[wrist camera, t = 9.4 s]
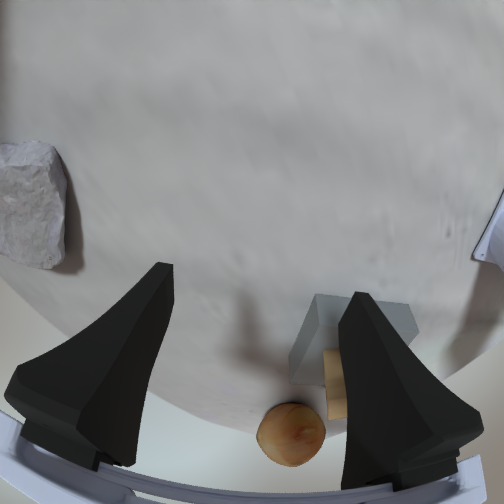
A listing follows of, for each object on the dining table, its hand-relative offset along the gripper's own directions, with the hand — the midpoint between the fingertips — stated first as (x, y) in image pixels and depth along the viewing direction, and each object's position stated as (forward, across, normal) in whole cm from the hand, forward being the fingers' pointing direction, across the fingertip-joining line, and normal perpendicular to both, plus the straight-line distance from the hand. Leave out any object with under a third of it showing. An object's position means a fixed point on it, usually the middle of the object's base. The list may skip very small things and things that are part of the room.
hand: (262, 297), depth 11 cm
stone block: (+11, +20, +4) cm, 23 cm away
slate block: (+11, -11, +14) cm, 21 cm away
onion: (+11, -10, +33) cm, 36 cm away
